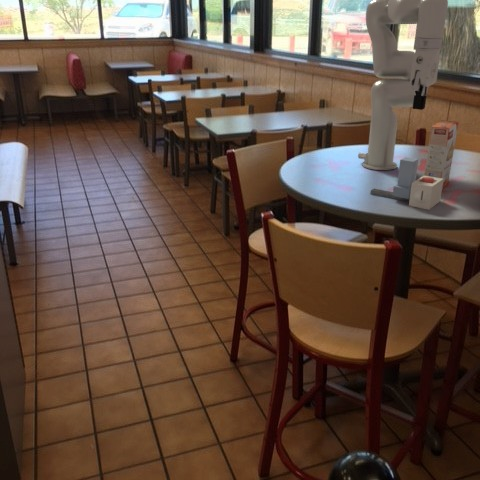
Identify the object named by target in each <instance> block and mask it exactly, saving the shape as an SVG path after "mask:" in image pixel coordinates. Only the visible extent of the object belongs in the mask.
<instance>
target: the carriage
mask: <svg viewBox="0 0 480 480" xmlns="http://www.w3.org/2000/svg"><path fill="white" fill-rule="evenodd" d="M418 165H419V158H414V157H402V158H401V159H399V168H398V176H397V184H396V185H394V186H393V190H392V192H393V196H396V197H401V198H406V199H409V198H410V192H411V185H412V182H414V181H416V180H417V172H418Z"/></svg>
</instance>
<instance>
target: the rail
mask: <svg viewBox="0 0 480 480" xmlns="http://www.w3.org/2000/svg"><path fill="white" fill-rule="evenodd" d="M369 192H370V195H372V196H379V197H384V198H388V199H389V198H390V199H394V200H400V201H403V202H409V200H410V198H409V199H406V198H401V197H396V196H393V191H389V190H383V189H377V188H372V189H370V191H369Z"/></svg>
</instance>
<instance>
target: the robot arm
mask: <svg viewBox="0 0 480 480" xmlns="http://www.w3.org/2000/svg"><path fill="white" fill-rule="evenodd" d="M448 5H449V1H448V0H371V1H370V2H368V5H367V6H366V9H365V24H366V25H365V26H366V29H367V33H368V36H369V38H370V41H371V50H372V53H371V54H372V66H373V74H374V76H376V77H377V78H378V79H381V80H377V81H375V82H374V83H373V84H372V86H371V88H370V89H371V90H370V100H371V101H370V102H371V104H370V105H371V107H370V108H371V111H370V112H371V115H370V116H371V117H370V126H369V135H368V136H369V138H368V147H367V153H364V152H359V153H358V155H357V157H358V159H361V160H364V161H363V162H362V166H363V167H364V168H366V169H369V170H375V171H391V170H394V169H397V168H398V164H397V162H395V161H394V158H395V157H394V155H395V146H396V138H397V129H398V117H397V115H396V114H395V112H394V110H393V108H409V107H410V108H412V109H413V110H418V111H419V110H421V111H423V110H424V109H425V108H426V102H427V95H428V91H429V87H430V86H432V85H434V84H436V83H437V80H438V73H439V72H438V71H439V61H440V51H442V50H441V49H442V44H443V37H444V31H445V25H446V20H447V19H446V18H447V13H448V7H449V6H448ZM387 25H416V28H415V34H414V43H413V50H414V51H412V50H398V48H397V38H396V37H395V34H394V33H393V32H392V30H391V29H390V28H389V27H388V26H387Z"/></svg>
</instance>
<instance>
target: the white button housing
mask: <svg viewBox="0 0 480 480" xmlns="http://www.w3.org/2000/svg"><path fill="white" fill-rule="evenodd" d="M423 177H430V176H424V175H422V176H421V177H419V178H416V181H414V182H412V185H411V192H410V200H409V201H408V202H409V203H408V206H409V207H414V208H419V209H423V210H430V209H432V208H433V207H434V206H436V205H437V204H438V203H439V202H441V198H442V191H443V189H442V186H443V180H444V179H442V178H436V177H430V178H434V183H433V184H432V183H426V182H422V178H423Z"/></svg>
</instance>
